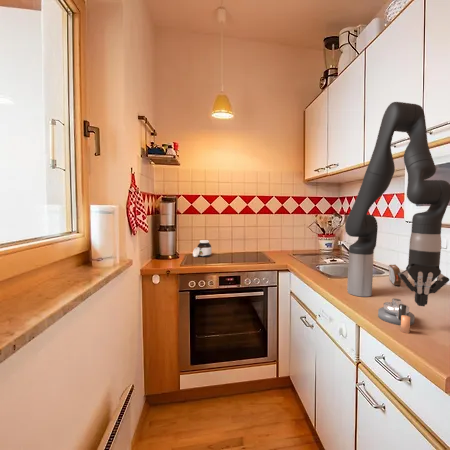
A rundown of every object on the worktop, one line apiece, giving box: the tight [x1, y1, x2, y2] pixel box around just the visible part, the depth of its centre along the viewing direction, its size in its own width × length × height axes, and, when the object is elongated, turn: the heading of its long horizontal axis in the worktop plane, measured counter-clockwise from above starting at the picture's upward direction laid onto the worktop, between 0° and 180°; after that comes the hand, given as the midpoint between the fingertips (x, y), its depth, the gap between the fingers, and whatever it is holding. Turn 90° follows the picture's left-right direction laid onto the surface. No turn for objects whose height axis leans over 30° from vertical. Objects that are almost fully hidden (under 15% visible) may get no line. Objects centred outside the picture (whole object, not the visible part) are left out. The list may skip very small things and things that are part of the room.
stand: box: [377, 306, 415, 334], centre depth 87 cm, size 15×10×4 cm, turn 2°
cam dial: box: [383, 297, 410, 320], centre depth 87 cm, size 11×7×4 cm, turn 161°
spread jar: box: [192, 239, 213, 258], centre depth 199 cm, size 12×11×12 cm
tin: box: [388, 264, 402, 287], centre depth 131 cm, size 15×3×8 cm, turn 158°
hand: (420, 305), depth 83 cm, fingers closed
